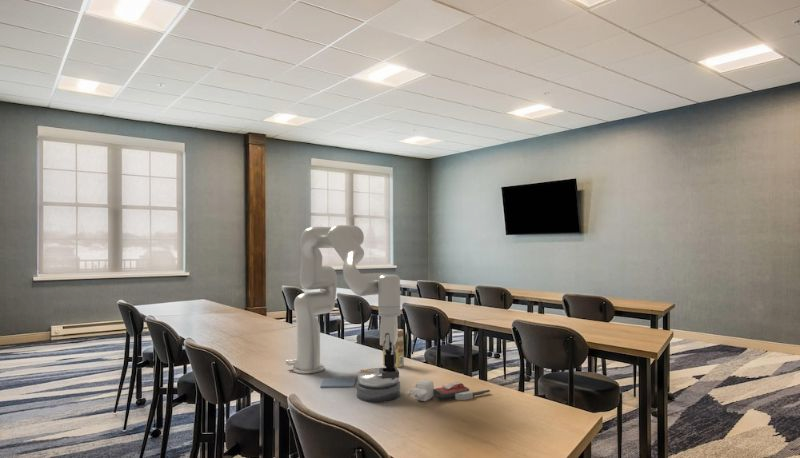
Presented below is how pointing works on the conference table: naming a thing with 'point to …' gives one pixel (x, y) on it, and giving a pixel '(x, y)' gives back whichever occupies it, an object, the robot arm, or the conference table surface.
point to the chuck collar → (378, 378)
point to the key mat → (337, 382)
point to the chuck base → (378, 394)
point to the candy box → (398, 350)
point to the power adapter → (423, 390)
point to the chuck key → (394, 361)
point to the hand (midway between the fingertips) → (390, 364)
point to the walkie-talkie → (455, 392)
